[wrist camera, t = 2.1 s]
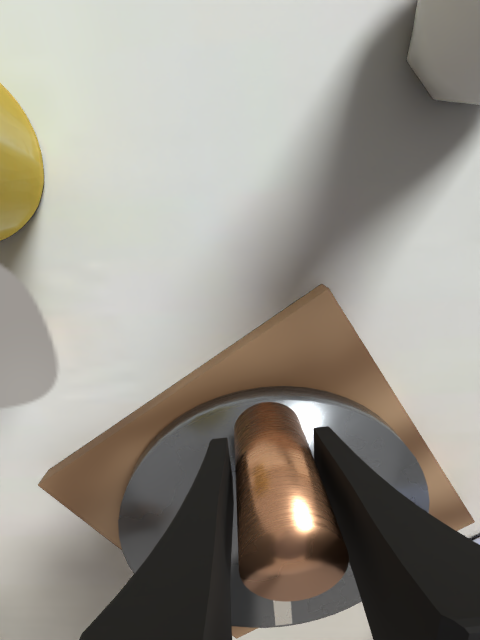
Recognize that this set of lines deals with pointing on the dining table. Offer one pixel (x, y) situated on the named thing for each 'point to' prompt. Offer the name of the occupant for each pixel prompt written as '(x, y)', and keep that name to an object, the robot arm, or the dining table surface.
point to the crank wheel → (268, 496)
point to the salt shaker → (447, 49)
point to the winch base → (242, 374)
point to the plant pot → (17, 167)
